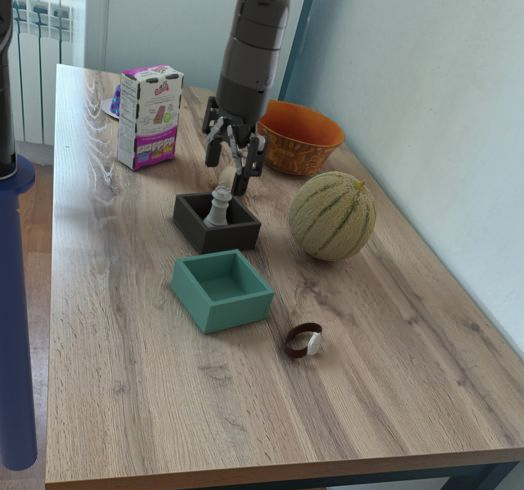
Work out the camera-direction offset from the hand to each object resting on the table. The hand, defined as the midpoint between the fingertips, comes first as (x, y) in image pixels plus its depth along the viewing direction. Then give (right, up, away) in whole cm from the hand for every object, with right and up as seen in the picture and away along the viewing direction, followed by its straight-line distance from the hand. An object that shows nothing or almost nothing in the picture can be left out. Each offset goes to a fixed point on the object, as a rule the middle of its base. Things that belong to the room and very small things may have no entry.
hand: (223, 180), depth 86 cm
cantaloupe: (+16, -10, +11) cm, 22 cm away
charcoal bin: (-2, -7, +7) cm, 10 cm away
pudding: (-23, +25, +33) cm, 47 cm away
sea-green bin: (0, -20, -6) cm, 21 cm away
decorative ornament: (0, +3, +18) cm, 19 cm away
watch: (+12, -27, -8) cm, 30 cm away
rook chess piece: (-2, -7, +7) cm, 10 cm away
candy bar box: (-17, +10, +20) cm, 28 cm away
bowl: (+11, +14, +34) cm, 38 cm away
